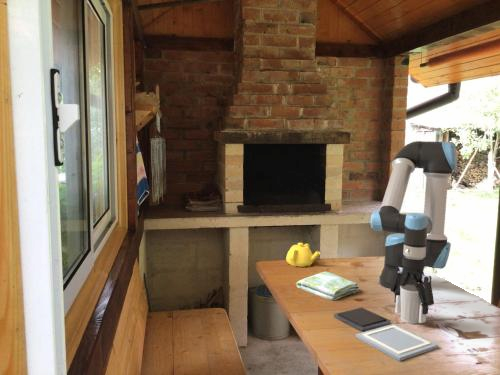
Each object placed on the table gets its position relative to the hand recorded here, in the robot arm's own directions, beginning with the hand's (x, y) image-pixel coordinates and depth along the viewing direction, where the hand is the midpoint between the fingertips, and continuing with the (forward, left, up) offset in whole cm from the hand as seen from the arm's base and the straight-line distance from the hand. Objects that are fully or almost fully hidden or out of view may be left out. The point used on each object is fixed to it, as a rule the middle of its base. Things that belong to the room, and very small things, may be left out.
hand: (409, 316), depth 162 cm
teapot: (-75, +10, -1) cm, 76 cm away
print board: (+10, -19, -1) cm, 22 cm away
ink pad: (-8, -16, -1) cm, 18 cm away
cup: (0, 0, -1) cm, 1 cm away
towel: (-39, -5, -2) cm, 39 cm away
